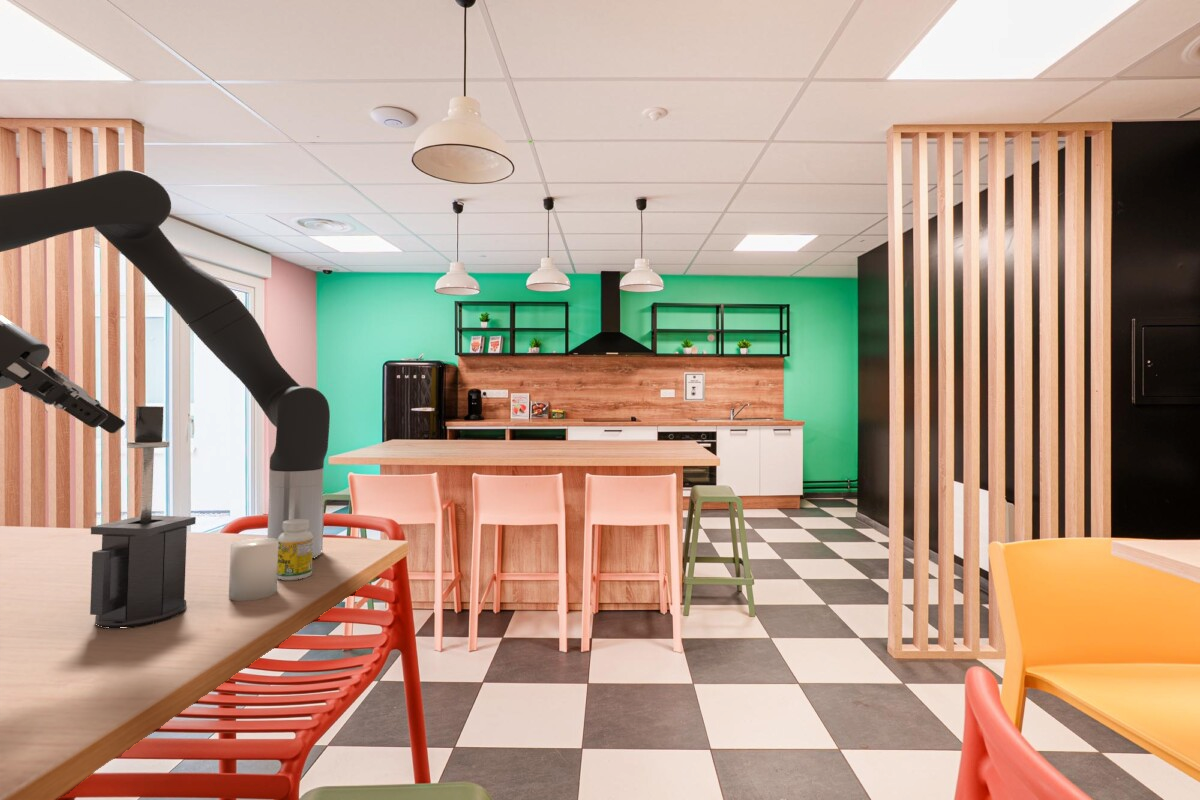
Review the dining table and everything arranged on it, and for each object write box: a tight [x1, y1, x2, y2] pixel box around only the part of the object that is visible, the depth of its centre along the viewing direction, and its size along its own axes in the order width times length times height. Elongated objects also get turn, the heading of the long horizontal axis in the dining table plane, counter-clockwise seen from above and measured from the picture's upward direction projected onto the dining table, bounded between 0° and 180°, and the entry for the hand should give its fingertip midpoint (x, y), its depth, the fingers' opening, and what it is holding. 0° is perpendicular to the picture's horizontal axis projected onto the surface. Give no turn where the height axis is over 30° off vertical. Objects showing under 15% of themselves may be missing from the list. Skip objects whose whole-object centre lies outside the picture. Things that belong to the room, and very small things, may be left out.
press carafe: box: [89, 515, 197, 628], centre depth 76 cm, size 12×10×13 cm
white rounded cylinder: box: [228, 537, 278, 602], centre depth 86 cm, size 6×6×8 cm
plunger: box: [126, 405, 170, 524], centre depth 77 cm, size 5×5×21 cm
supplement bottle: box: [277, 519, 313, 581], centre depth 95 cm, size 5×5×10 cm
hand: (111, 425), depth 73 cm, fingers open, 8 cm apart
